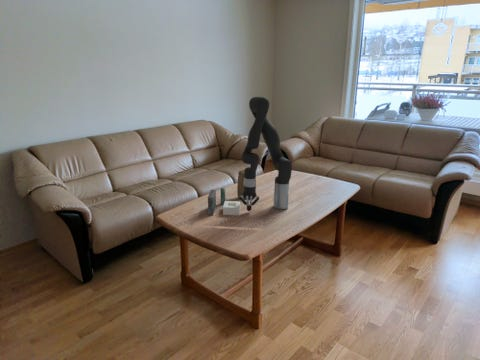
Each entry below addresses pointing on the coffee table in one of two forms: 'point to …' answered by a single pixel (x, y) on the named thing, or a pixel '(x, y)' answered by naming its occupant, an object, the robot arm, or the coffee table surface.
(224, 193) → the dowel
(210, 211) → the jig
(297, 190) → the coffee table surface
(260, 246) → the coffee table surface
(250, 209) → the robot arm
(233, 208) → the socket
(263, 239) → the coffee table surface
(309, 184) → the coffee table surface
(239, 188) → the brown rounded block
